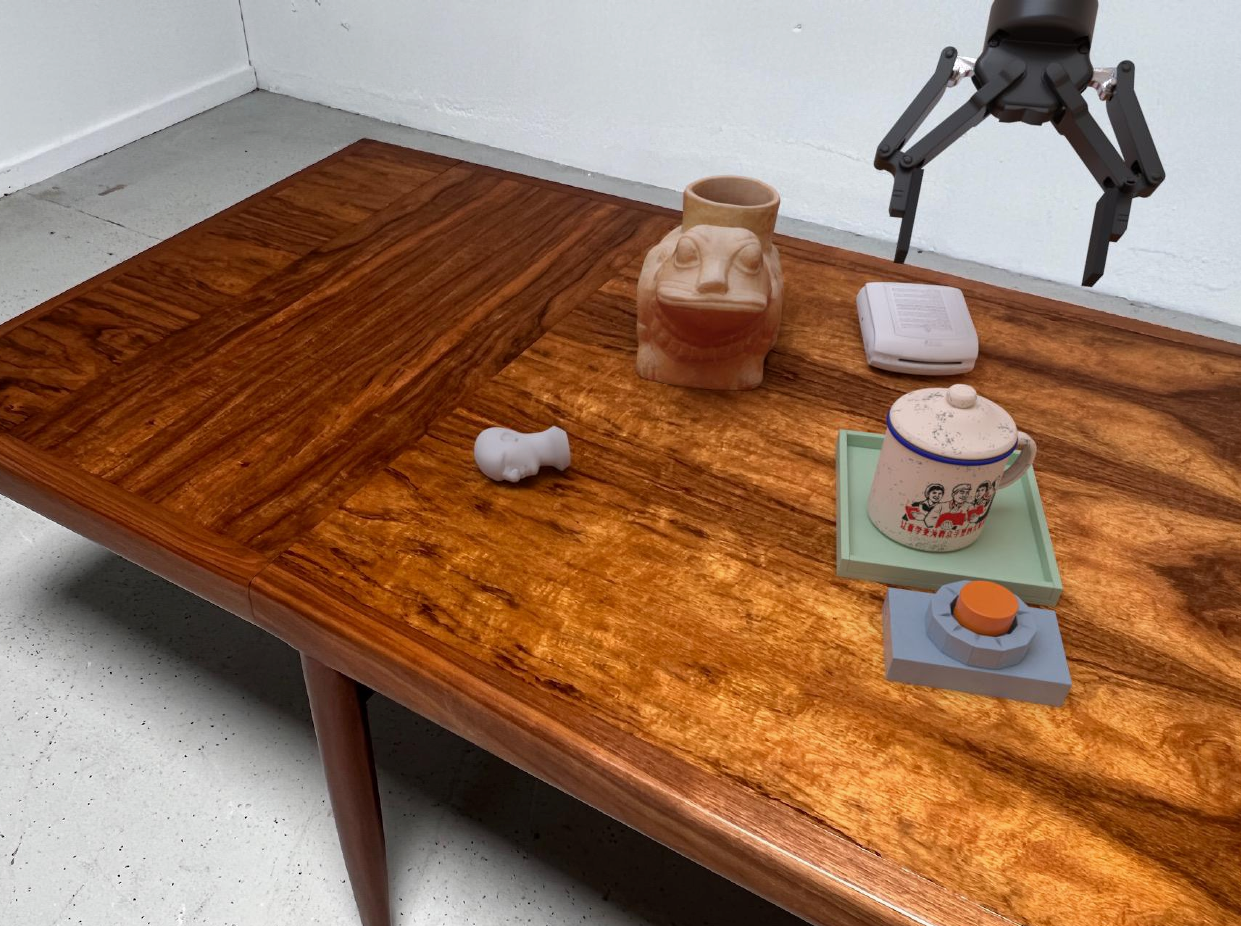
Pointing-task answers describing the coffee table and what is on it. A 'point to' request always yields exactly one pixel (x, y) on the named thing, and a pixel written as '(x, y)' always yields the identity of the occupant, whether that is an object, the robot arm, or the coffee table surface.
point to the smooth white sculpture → (520, 452)
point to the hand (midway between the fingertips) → (994, 269)
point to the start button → (986, 608)
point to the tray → (1000, 554)
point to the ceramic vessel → (713, 289)
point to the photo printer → (917, 328)
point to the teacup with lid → (944, 467)
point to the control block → (973, 649)
